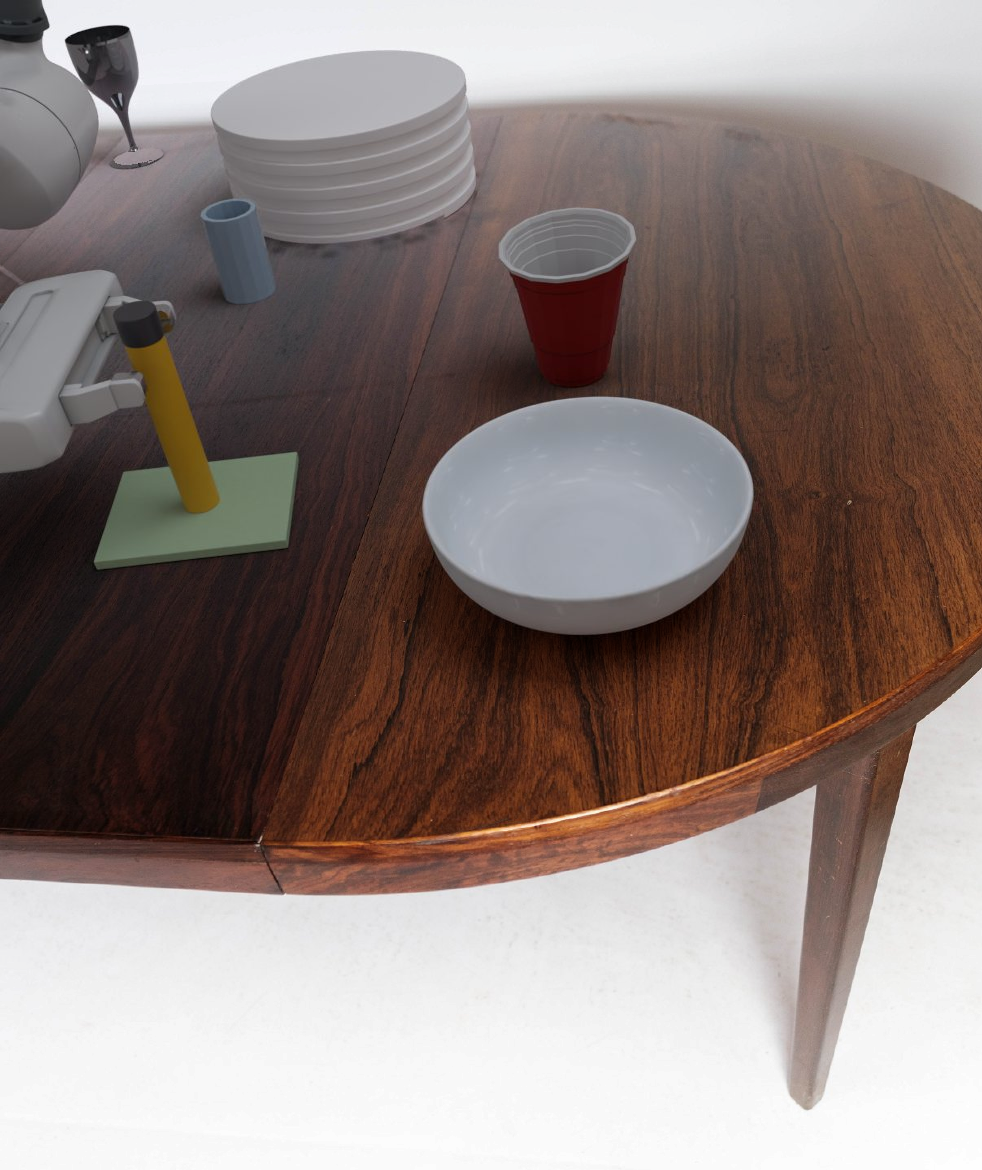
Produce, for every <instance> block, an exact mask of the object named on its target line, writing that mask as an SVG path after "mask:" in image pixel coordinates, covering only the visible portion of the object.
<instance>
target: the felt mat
mask: <svg viewBox="0 0 982 1170" xmlns="http://www.w3.org/2000/svg"><path fill="white" fill-rule="evenodd" d="M299 462H300V458H299V454H298V452H297V451H292V452H284V453H275V454H267V455H256V456H249V457H240V458H232V459H231V458H230V459H223V460H216V461H208V464H209V467H210V470H211V473H212V476H213V479H214V482H215V485H216V487H217V490H218V493H219V496H220V501H219V503H218V504H217V506H215V507H214V508H213V509H211V510H209V511H207V512H203V513H191V512H189V511H187V510H186V509H185V507H184V504H183V502H182V499H181V496H180V494H179V491H178V488H177V486H176V483H175V480H174V477H173V475H172V472H171V469H170V467H169V466H163V467H155V468H154V467H152V468H145V469H136V470H127V471H123V472H122V475H121V478H120V481H119V484H118V487H117V490H116V493H115V496H114V499H113V501H112V502H113V503H112V506H111V509H110V511H109V514H108V517H107V521H106V523H105V526H104V528H103V529H104V530H103V533H102V536H101V538H100V542H99V544H98V547H97V551H96V554H95V557H94V560H93V564H94V566H95V568H96V570H97V571H98V570H99V571H100V570H106V569H116V568H124V567H133V566H141V565H142V566H143V565H151V564H160V563H167V562H177V561H186V560H193V559H194V560H195V559H203V558H212V557H221V556H229V555H230V556H231V555H239V554H247V553H256V552H264V551H265V552H266V551H273V550H274V551H275V550H281V549H282V550H283V549H288V548H289V543H290V535H291V527H292V520H293V519H292V518H293V512H294V511H293V509H294V504H295V494H296V487H297V479H298V471H299Z"/></svg>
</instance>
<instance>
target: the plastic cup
mask: <svg viewBox="0 0 982 1170" xmlns="http://www.w3.org/2000/svg"><path fill="white" fill-rule="evenodd" d="M636 243H637V236H636V232H635V227H634V225H633V224H632V223H630V222H629V221H628V220H627V219H626V218H625V217H624V216H623V215H621V214H618V213H616V212H612V211H609V210H605V209H602V208H595V207H593V208H591V207H569V208H560V209H554V210H553V209H552V210H548V211H545V212H542V213H540V214H537V215H533V216H531V217H528V218H525V219H524V220H523V221H520V222H519V223H518V224H516V225H515V226H513V227H511V228H510V229H508V230H507V232H506V233H505V235H504V236H503V237H502V239H501V240H500V241H499V243H498V258H499V260H500V263H501V264H502V265H503V266H504V267H505V268H506V269H507V270H508V273H509V276H510V277H511V279H512V282H513V285H514V288H515V289H516V291H517V295H518V299H519V303H520V306H521V309H522V314H523V317H524V321H525V324H526V329H527V331H528V335H529V339H530V342H531V343H532V345H533V350H534V354H535V358H536V361H537V365H538V370H540V373H541V376H542V377H543V378H544V379H545V380H546V381H547V382H549V383H550V384H554V385H556V386H561V387H566V388H567V387H568V388H573V387H583V386H586V385H589V384H593V383H595V382H597V381H599V380H600V379H601V378H604V375H605V374H606V372H607V371H608V367H609V365H610V363H611V356H612V348H613V343H614V342H613V341H614V338H615V336H616V331H617V325H618V317H619V311H620V305H621V298H622V291H623V285H624V279H625V276H626V273H627V266H628V263H629V260H630V259H629V258H630V255H631V253H632V251H633V249H634V248H635V245H636Z"/></svg>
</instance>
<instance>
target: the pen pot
mask: <svg viewBox="0 0 982 1170" xmlns="http://www.w3.org/2000/svg"><path fill="white" fill-rule="evenodd" d="M199 216H200V219H201V223H202V226H203V231H204V233H205V238H206V241H207V244H208V247H209V251H210V254H211V257H212V261H213V264H214V265H213V266H214V268H215V271H216V275H217V278H218V282H219V285H220V288H221V292H222V296H223V298H224V299H225V300H226V301H227V302H228V303H231V304H234V305H249V304H255V303H258V302H259V303H260V302H261V301H263V300H266V299H268V298H270V297H271V296H273V294H274V293H275V292H276V289H277V283H276V280H275V279H276V278H275V275H274V271H273V267H272V263H271V260H270V256H269V252H268V248H267V243H266V240H265V236H264V235H263V231H262V227H261V223H260V219H259V215H258V211H257V207H256V204H255V203H254V202H253V201H251V200H247V199H233V198H228V199H224V200H219V201H217V202H214V203H212V204H210V205H207V206H206V207H205V208H204V209H202V210H201V213H200V215H199Z"/></svg>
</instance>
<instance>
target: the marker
mask: <svg viewBox="0 0 982 1170" xmlns="http://www.w3.org/2000/svg"><path fill="white" fill-rule="evenodd" d="M152 302H153V301H150V300H142V301H135V302H130V303H127V304H125V305H122V306H121V307H119V308H118V309H116V310H115V311H114V313H113V319H114V321H115V324H116V327H117V329H118V332H119V335H118V336H119V338H120V340H121V343H122V345H123V347H124V348H125V349H124V350H125V351H126V354H127V356H128V360H129V361H130V364H131V368H132V371H138V372H140V373H142V374H143V376H144V378H145V383H146V384H147V386H148V389H149V390H148V393H147V395H146V398H145V401H144V402H145V404H146V407H147V410H148V414H149V416H150V418H151V421H152V424H153V427H154V429H155V432H156V434H157V437H158V439H159V443H160V445H161V448H162V451H163V453H164V456H165V458H166V461H167V464H168V467H170V469H171V472H172V475H173V477H174V480H175V483H176V486H177V488H178V491H179V494H180V496H181V499H182V502H183V504H184V507H185V509H186V510H187V511H189V512H191V513H203V512H207V511H209V510H211V509H213V508H214V507H215V506H217V504H218V503H219V501H220V496H219V493H218V490H217V487H216V485H215V482H214V479H213V476H212V473H211V470H210V467H209V464H208V462H209V461H208V459H207V455H206V453H205V450H204V447H203V446H204V445H203V443H202V441H201V437H200V435H199V431H198V429H197V425H196V423H195V420H194V417H193V414H192V411H191V408H190V406H189V403H188V399H187V398H186V393H185V391H184V387H183V385H182V383H181V379H180V376H179V374H178V370H177V367H176V364H175V361H174V358H173V356H172V352H171V350H170V346H169V344H168V341H167V338H166V335H165V333H164V330H163V327H162V324H161V321H160V318H159V315H158V312H157V309H156V306H155V304H154V303H152Z"/></svg>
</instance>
